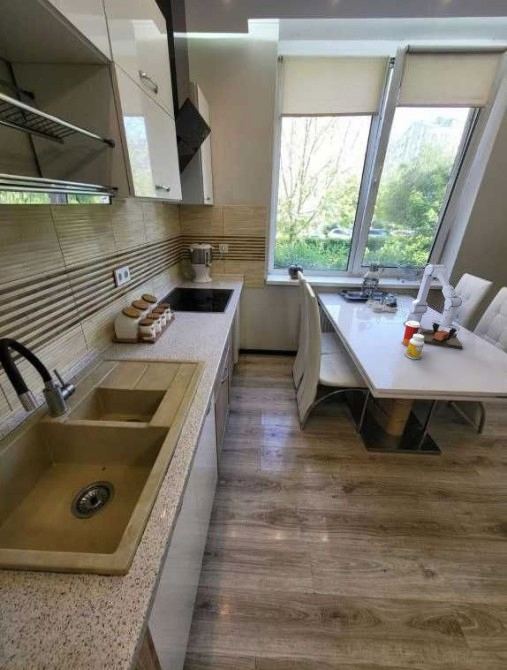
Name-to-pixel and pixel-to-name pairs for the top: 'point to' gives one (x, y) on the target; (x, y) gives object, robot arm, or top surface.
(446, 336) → the reddish orange block
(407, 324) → the paper cup
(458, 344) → the shelf board
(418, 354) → the supplement bottle
